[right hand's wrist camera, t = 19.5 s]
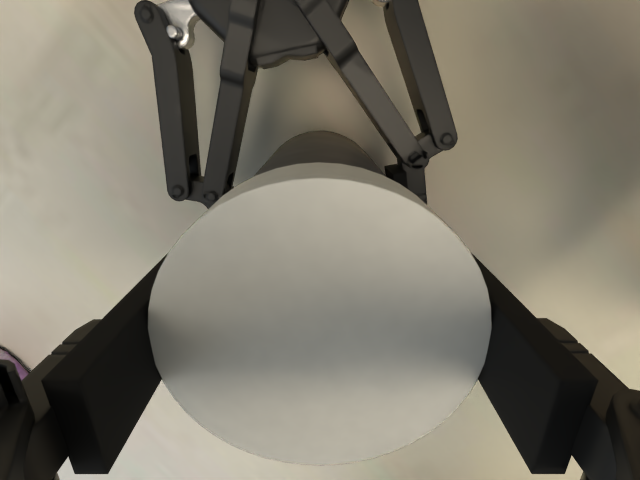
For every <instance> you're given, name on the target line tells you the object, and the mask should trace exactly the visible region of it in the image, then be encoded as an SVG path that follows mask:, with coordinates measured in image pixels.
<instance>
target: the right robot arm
mask: <svg viewBox="0 0 640 480" xmlns="http://www.w3.org/2000/svg"><path fill="white" fill-rule="evenodd" d="M471 254H472V253H471ZM166 256H167V255H166ZM166 256H165V257H164V258H163V259H162V260H161V261H160V262H159V263H158V264H157V265H156V266H155V267H154V268H153V269H152V270H151V271H150V272H149V273H148V274H147V275H146V276H145V277H144V278H143V279H142V280H141V281H140V282H139V283H138V284H137V285H136V286H135V287H134V288H133V289H132V290H131V291H130V292H129V293H128V294H127V295H126V296H125V297H124V298H123V299H122V300H121V301H120V302H119V303H118V304H117V305H116V306H115V307H114V308H113V309H112V310H111V311H110V312H109V313H108V314H107V315H106V316H105V317H104V318H103V319H93V320H92V321H90V322H88V323H87V324H85V325H83V326H81V327H80V328H78V329H76V330H75V331H74V332H73V333H72V334H71V335H69V336H68V337H67V338H66V339H65V340H64V341H63V342H62V345H59V346H58V347H57V348H56V349H55V350H53V351H52V354H51V355H48V356H47V357H46V358H45V359H44V360H43V361H42V362H41V363H40V364H39V365H37V366H36V367H35V368H34V369H33V370H32V371H31V372H30V373H29V374H28V375H27V376H26V377H25V378H24V379H23V380H21V379H20V376H19V373H18V371H17V368H16V366H15V363H13V362H11V361H10V360H5V359H0V480H60V479H59V476H58V474H57V471H58V470H59V469H60V467H61V466H62V464H63V463H64V462H65V460H66V459H67V457H68V456H69V459H70V462H71V465H72V467H73V470H74V473H75V474H108V473H109V471H110V469H111V468H112V466H113V464H114V462H115V461H116V459H117V457H118V455H119V453H120V452H121V450H122V448H123V446H124V445H125V443H126V441H127V439H128V438H129V436H130V434H131V432H132V431H133V429H134V427H135V425H136V424H137V422H138V420H139V418H140V416H141V415H142V413H143V411H144V409H145V408H146V406H147V404H148V402H149V401H150V399H151V397H152V395H153V394H154V392H155V390H156V388H157V387H158V385H159V383H160V381H161V379H162V378H161V376H160V374H159V371H158V369H157V367H156V365H155V360H154V356H153V352H152V347H151V342H150V337H149V332H148V308H149V302H150V297H151V291H152V288H153V285H154V282H155V279H156V277H157V274H158V271H159V269H160V267H161V265H162V264H163V262H164V260H165V258H166ZM472 256H473V257H474V259H475V261H476V263H477V264H478V266H479V268H480V270H481V273H482V275H483V278H484V281H485V284H486V286H487V289H488V295H489V300H490V305H491V320H492V330H491V335H490V340H489V345H488V350H487V355H486V359H485V363H484V366H483V368H482V370H481V373H480V375H479V377H478V380H479V382H480V384H481V385H482V387H483V389H484V391H485V392H486V394H487V396H488V398H489V399H490V401H491V403H492V405H493V406H494V408H495V410H496V412H497V414H498V415H499V417H500V419H501V421H502V422H503V424H504V426H505V428H506V429H507V431H508V433H509V435H510V436H511V438H512V440H513V442H514V444H515V445H516V447H517V449H518V451H519V452H520V454H521V456H522V458H523V459H524V461H525V463H526V465H527V466H528V468H529V470H530V472H531V473H532V474H565V472H566V469H567V466H568V463H569V461H570V458H571V455H572V456H573V457H574V459H575V460H576V462H577V463H578V464H579V466H580V467H581V469H582V470H583V474H582V476H581V479H580V480H640V391H638V390H633V389H629V388H628V387H627V386H626V385H624V384H623V383H622V382H621V381H620V380H619V379H618V378H617V377H616V376H615V375H614V374H613V373H612V372H611V371H609V370H608V369H607V368H606V367H605V366H604V365H603V364H602V363H601V362H600V361H599V360H598V359H597V358H595V357H594V356H593V355H592V354H589V352H588V350H587V349H586V348H585V347H584V346H583V345H582V344H580V343H578V342H577V340H576V339H575V338H574V337H573V336H572V335H571V334H570V333H569V332H568V331H567V330H565V329H564V328H563V327H561V326H559V325H557V324H556V323H554V322H552V321H550V320H549V319H547V318H536V317H535V316H534V315H533V314H532V313H531V312H530V311H529V310H528V309H527V308H526V307H525V306H524V305H523V304H522V303H521V302H520V301H519V300H518V299H517V298H516V297H515V296H514V295H513V294H512V293H511V292H510V291H509V290H508V289H507V288H506V287H505V286H504V285H503V284H502V283H501V282H500V281H499V280H498V279H497V278H496V277H495V276H494V275H493V274H492V273H491V272H490V271H489V270H488V269H487V268H486V267H485V266H484V265H483V264H482V263H481V262H480V261H479V260H478V259H477V258H476V257H475V256H474V255H473V254H472Z"/></svg>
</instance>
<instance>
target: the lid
mask: <svg viewBox="0 0 640 480" xmlns="http://www.w3.org/2000/svg"><path fill="white" fill-rule="evenodd" d="M491 330H492V320H491V305H490V300H489V295H488V289H487V286H486V284H485V281H484V278H483V275H482V273H481V270H480V268H479V266H478V264H477V263H476V261H475V259H474V257H473V256H472V254H471V252H470V250H469V249H468V248H467V247H466V245H465V244H464V243H463V242H462V240H461V239H460V238H459V237H458V235H457V234H456V233H455V232H454V231H453V230H452V229H451V228H450V227H449V226H448V225H447V224H446V223H445V222H444V221H443V220H442V219H441V218H440V217H439V216H438V215H437V214H436V213H435V212H434V211H433V210H431V209H430V208H429V207H428V206H427V205H426V204H425V203H424V202H423V201H422V200H421V199H420V198H419V197H418V196H416V195H415V194H414V193H412V192H411V191H409V190H408V189H406V188H405V187H404V186H402V185H401V184H399V183H397V182H395V181H393V180H391V179H389V178H387V177H385V176H383V175H381V174H378V173H375V172H372V171H369V170H366V169H363V168H360V167H355V166H350V165H345V164H338V163H321V162H317V163H303V164H295V165H290V166H285V167H280V168H276V169H273V170H270V171H267V172H264V173H262V174H259V175H256V176H254V177H252V178H250V179H248V180H246V181H245V182H243V183H241V184H239V185H237V186H236V187H234V188H233V189H232V190H230V191H229V192H227V193H226V194H225V195H223V196H222V197H221V198H220V199H219V200H218V201H217V202H216V203H214V204H213V205H212V206H211V207H210V208H209V209H208V210H207V211H206V212H205V213H204V214H203V215H202V216H201V217H200V218H199V219H198V220H197V221H196V222H195V223H194V224H193V225H192V226H191V227H190V228H189V229H188V230H186V231H185V232H184V233H183V234H182V236H181V237H180V238H179V240H178V241H177V242H176V243H175V245H174V246H173V247H172V249H171V250H170V251H169V253H168V254H167V256H166V258H165V260H164V262H163V264H162V265H161V267H160V269H159V271H158V274H157V277H156V279H155V282H154V285H153V288H152V291H151V297H150V302H149V308H148V332H149V337H150V342H151V347H152V352H153V356H154V360H155V365H156V367H157V369H158V371H159V374H160V376H161V378H162V380H163V382H164V384H165V385H166V387H167V388H168V390H169V391H170V393H171V395H172V396H173V398H174V399H175V400H176V401H177V402H178V403H179V405H180V406H181V407H182V408H183V409H184V411H185V412H186V413H187V414H189V415H190V416H191V417H192V418H193V419H194V420H195V421H196V422H197V423H198V424H199V425H201V426H202V427H204V428H205V429H206V430H208V431H209V432H210V433H212V434H213V435H215V436H216V437H218V438H220V439H221V440H223V441H225V442H227V443H228V444H230V445H232V446H235V447H237V448H239V449H241V450H244V451H246V452H248V453H251V454H254V455H257V456H260V457H263V458H267V459H271V460H276V461H280V462H285V463H293V464H300V465H320V466H321V465H340V464H347V463H354V462H360V461H364V460H368V459H372V458H377V457H379V456H382V455H385V454H388V453H391V452H394V451H396V450H398V449H401V448H403V447H405V446H407V445H409V444H411V443H413V442H415V441H416V440H418V439H420V438H422V437H423V436H425V435H427V434H428V433H429V432H431V431H432V430H433V429H435V428H436V427H437V426H439V425H440V424H441V423H443V422H444V421H445V420H446V419H447V418H448V417H449V416H450V415H451V414H452V413H453V412H454V411H455V410H456V409H457V408H458V407H459V405H460V404H461V403H462V402H463V401H464V399H465V398H466V397H467V396H468V394H469V392H470V391H471V389H472V388H473V386H474V384H475V383H476V381H477V379H478V377H479V375H480V373H481V370H482V368H483V366H484V363H485V359H486V355H487V350H488V345H489V340H490V335H491Z"/></svg>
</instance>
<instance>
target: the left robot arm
mask: <svg viewBox="0 0 640 480" xmlns="http://www.w3.org/2000/svg"><path fill="white" fill-rule="evenodd" d="M371 1H372V2H373V3H374V4H375V5H376V6H379V7H383V8H384V16H385V22H386V25H387V29H388V32H389V35H390V38H391V41H392V44H393V47H394V50H395V53H396V56H397V60H398V63H399V66H400V69H401V72H402V75H403V78H404V81H405V84H406V87H407V90H408V93H409V96H410V99H411V102H412V105H413V108H414V111H415V114H416V117H417V120H418V123H419V126H420V129H421V133H420V134H418V135H417V136H414V135H413V133H412V132H411V130H410V129H409V127H408V126H407V124H406V123H405V121H404V120H403V118H402V117H401V115H400V114H399V112H398V110H397V109H396V107H395V106H394V104H393V103H392V101H391V100H390V98H389V97H388V95H387V94H386V92H385V91H384V89H383V88H382V86H381V84H380V83H379V81H378V80H377V78H376V77H375V75H374V74H373V72H372V71H371V69H370V68H369V66H368V65H367V63H366V62H365V60H364V58H363V57H362V55H361V54H360V52H359V51H358V48H357V46H356V44H355V42H354V40H353V39H352V37H351V36H350V34H349V33H348V31H347V30H346V28H345V26H344V25H343V23H342V22H341V18H342V16H343V14H344V11H345V9H346V7H347V4H348V2H349V0H169V1H166V2H164V3H161V4H158V5H156V4H154V3H152V2H150V1H147V0H142V1H140V2H138V3H137V5H136V6H135V11H134V14H135V18H136V21H137V23H138V25H139V28H140V30H141V32H142V34H143V37H144V39H145V41H146V44H147V46H148V48H149V50H150V53H151V55H152V62H153V70H154V79H155V87H156V96H157V105H158V113H159V122H160V131H161V139H162V148H163V157H164V165H165V174H166V182H167V191H168V194H169V196H170V197H171V198H172V199H174V200H176V201H183V200H191V201H197V202H201V203H202V204H204V205H205V206H206V207H207V208H208V209H209V208H210V207H211V206H212V205H213V204H214V203H216V202H217V201H218V200H219V199H220V198H221V197H222V196H223V195H225V194H226V193H227V192H229V191H230V190H232V189H233V188H234V186H233V181H234V176H235V171H236V166H237V161H238V157H239V152H240V147H241V142H242V137H243V132H244V127H245V122H246V117H247V112H248V107H249V102H250V97H251V92H252V88H253V86H254V84H255V80H256V76H257V71H258V67H260V68H263V69H267V68H272V67H276V66H279V65H280V64H282V63H284V62H286V61H288V60H290V59H293V60H309V59H314V58H318V56H319V55H320V54H322V53H324V54H325V55H326V57H327V58H328V60H329V61H330V63H331V64H332V66H333V67H334V68H335V69H336V70H337V72H338V73H339V75H340V76H341V78H342V79H343V80H344V82H345V83H346V85H347V86H348V88H349V89H350V91H351V92H352V94H353V95H354V96H355V98H356V99H357V101H358V102H359V104H360V105H361V107H362V108H363V110H364V111H365V112H366V114H367V115H368V117H369V118H370V120H371V121H372V123H373V124H374V126H375V127H376V128H377V130H378V131H379V133H380V134H381V136H382V137H383V139H384V140H385V142H386V143H387V145H388V146H389V147H390V149H391V150H392V152H393V153H394V155H395V156H396V158H397V162H398V165H397V164H394V165H389V166H385V173H386V177H387V178H389V179H391V180H393V181H395V182H397V183H399V184H401V185H402V186H404V187H405V188H406V189H408V190H409V191H411V192H412V193H414V194H415V195H416V196H418V197H419V198H420V199H421V200H422V201H423V202H424V203H425V204H426V205H427V197H426V185H425V173H424V168H425V167H426V166H427V165H428V162H429V159H430V158H431V157H432V156H434V155H436V154H438V153H440V152H441V151H443V150H450V149H451V148H453V147H454V146H455V144H456V142H457V139H458V138H457V132H456V129H455V125H454V122H453V119H452V115H451V112H450V108H449V105H448V102H447V98H446V95H445V91H444V88H443V85H442V81H441V78H440V74H439V71H438V68H437V64H436V61H435V57H434V54H433V51H432V47H431V44H430V40H429V37H428V34H427V30H426V27H425V23H424V20H423V17H422V13H421V10H420V6H419V3H418V0H371ZM200 19H201V20H202V21H203V22H204V23H205V24H206V25H207V26H208V27H209V28H210V29H211V30H212V31H213V32H214V33H215V34H216V35H217V36H218V37H220V38H221V39H222V40H223V41H224V42H225V43H224V49H223V54H222V60H221V66H220V78H221V82H220V88H219V94H218V100H217V105H216V111H215V117H214V123H213V129H212V135H211V140H210V146H209V152H208V158H207V164H206V170H205V175H204V176H201V167H200V155H199V142H198V130H197V117H196V104H195V92H194V79H193V69H192V62H191V57H190V53H189V50H188V49H190V48H191V47H192V46H193V44H194V41H195V37H194V26H195V24H196V23H197V21H199V20H200ZM232 186H233V187H232Z"/></svg>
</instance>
